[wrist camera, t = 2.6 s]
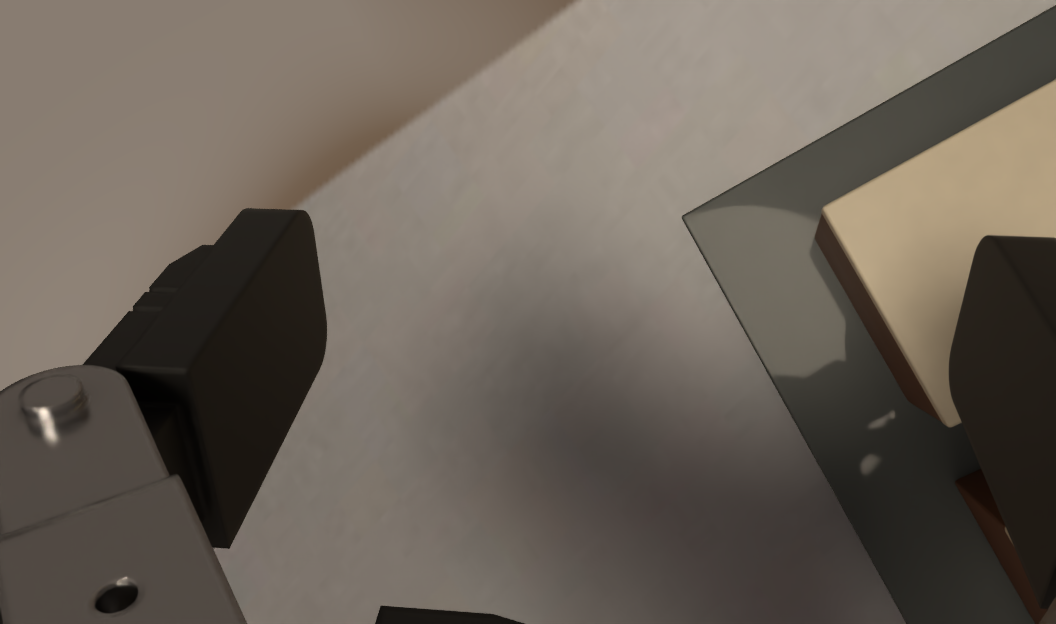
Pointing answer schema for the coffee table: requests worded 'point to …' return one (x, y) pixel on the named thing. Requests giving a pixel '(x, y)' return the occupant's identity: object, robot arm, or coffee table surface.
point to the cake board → (847, 348)
